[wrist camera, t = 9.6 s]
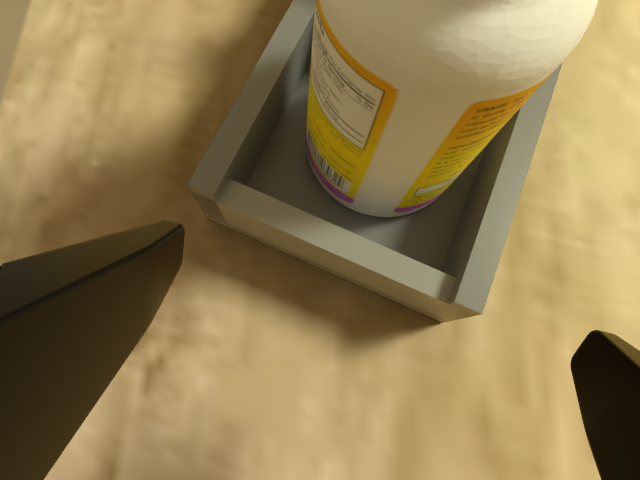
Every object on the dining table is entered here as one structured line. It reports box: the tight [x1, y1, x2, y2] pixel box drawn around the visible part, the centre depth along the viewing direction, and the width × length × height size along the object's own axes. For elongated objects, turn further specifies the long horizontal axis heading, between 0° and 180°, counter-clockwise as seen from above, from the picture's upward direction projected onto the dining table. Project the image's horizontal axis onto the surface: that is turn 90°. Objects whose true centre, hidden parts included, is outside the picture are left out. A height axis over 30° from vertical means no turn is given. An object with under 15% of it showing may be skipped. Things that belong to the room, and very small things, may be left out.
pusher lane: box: [188, 0, 562, 323], centre depth 17 cm, size 18×11×7 cm, turn 156°
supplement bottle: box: [306, 0, 598, 217], centre depth 13 cm, size 7×7×13 cm
